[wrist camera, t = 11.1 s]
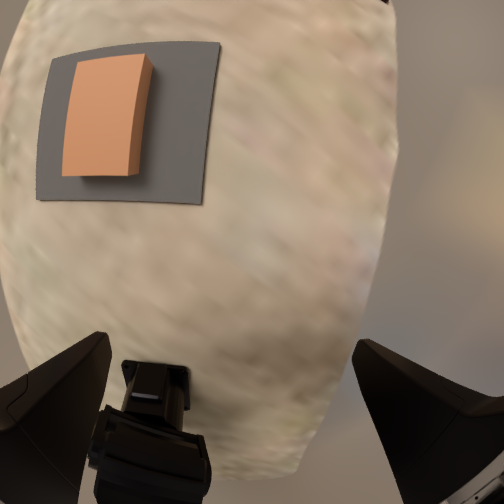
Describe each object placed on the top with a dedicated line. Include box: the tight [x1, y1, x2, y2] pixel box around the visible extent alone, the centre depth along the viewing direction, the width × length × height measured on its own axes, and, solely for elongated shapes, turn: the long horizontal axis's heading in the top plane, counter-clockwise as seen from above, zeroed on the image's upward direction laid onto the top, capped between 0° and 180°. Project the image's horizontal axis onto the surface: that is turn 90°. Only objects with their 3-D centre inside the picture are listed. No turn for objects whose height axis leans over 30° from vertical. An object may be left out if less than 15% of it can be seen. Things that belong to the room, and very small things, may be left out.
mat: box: [36, 41, 220, 204], centre depth 16 cm, size 12×14×1 cm
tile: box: [62, 54, 153, 176], centre depth 14 cm, size 5×8×2 cm, turn 173°
